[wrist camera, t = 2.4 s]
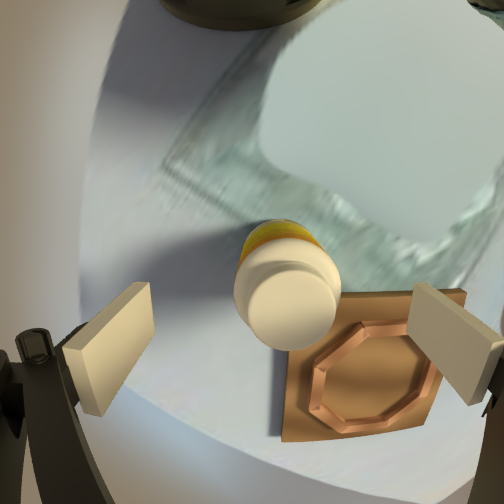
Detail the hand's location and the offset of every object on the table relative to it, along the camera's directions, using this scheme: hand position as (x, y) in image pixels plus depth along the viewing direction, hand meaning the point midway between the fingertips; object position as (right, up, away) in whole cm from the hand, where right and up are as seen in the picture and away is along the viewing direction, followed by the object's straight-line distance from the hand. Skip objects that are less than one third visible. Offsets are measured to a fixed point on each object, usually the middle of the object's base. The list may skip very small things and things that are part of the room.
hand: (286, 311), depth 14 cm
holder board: (+9, -8, +11) cm, 17 cm away
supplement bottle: (0, +3, +9) cm, 9 cm away
